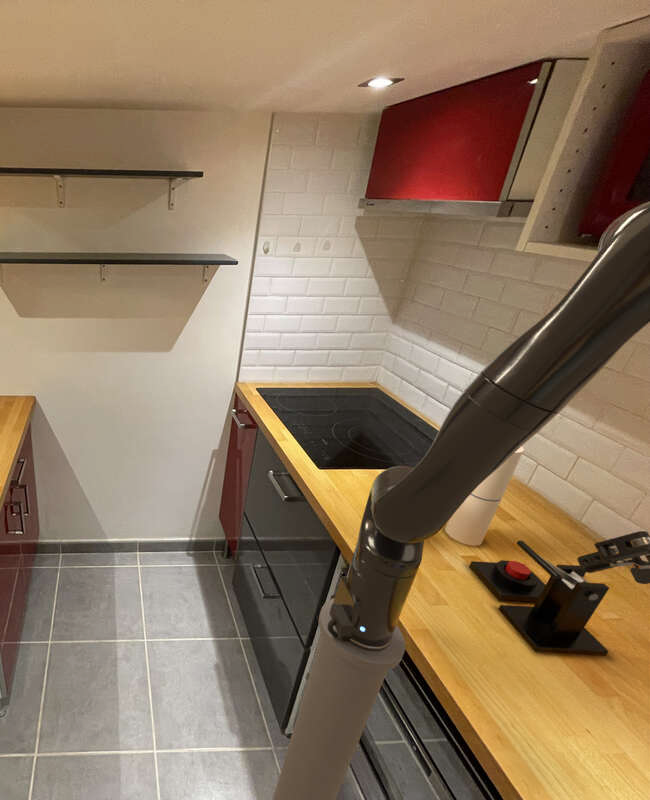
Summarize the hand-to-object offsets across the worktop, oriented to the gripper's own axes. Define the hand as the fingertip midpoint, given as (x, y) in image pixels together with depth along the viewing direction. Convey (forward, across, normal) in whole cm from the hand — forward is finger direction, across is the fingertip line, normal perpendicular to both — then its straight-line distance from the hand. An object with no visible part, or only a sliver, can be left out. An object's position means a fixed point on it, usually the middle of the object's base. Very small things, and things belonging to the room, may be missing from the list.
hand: (608, 571), depth 65 cm
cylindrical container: (+36, -15, -20) cm, 43 cm away
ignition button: (+25, -14, -8) cm, 30 cm away
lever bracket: (+23, -13, +3) cm, 26 cm away
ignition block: (+28, -14, -7) cm, 32 cm away
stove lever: (+12, -6, -3) cm, 14 cm away
